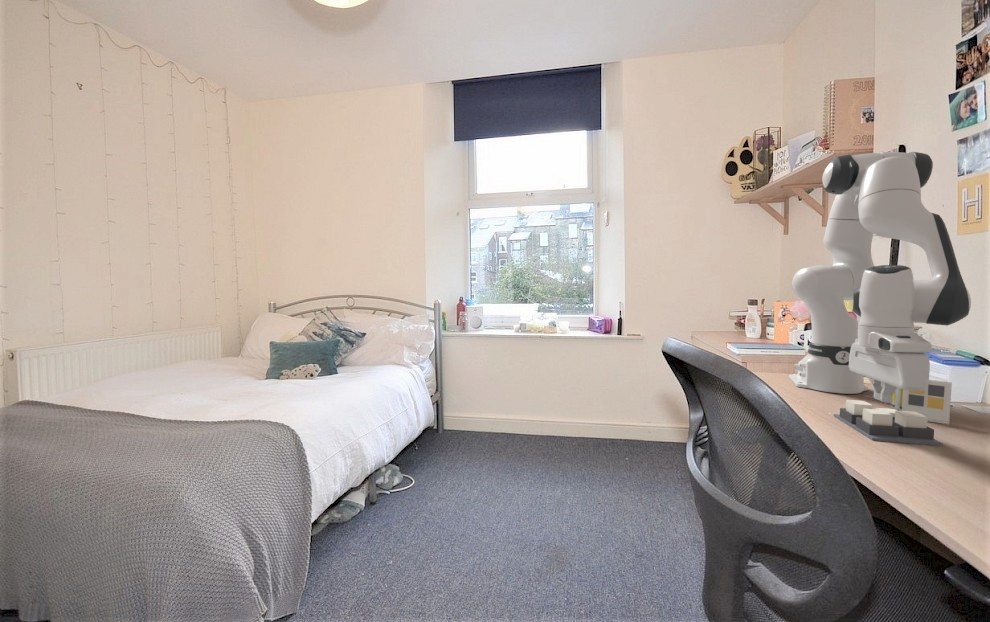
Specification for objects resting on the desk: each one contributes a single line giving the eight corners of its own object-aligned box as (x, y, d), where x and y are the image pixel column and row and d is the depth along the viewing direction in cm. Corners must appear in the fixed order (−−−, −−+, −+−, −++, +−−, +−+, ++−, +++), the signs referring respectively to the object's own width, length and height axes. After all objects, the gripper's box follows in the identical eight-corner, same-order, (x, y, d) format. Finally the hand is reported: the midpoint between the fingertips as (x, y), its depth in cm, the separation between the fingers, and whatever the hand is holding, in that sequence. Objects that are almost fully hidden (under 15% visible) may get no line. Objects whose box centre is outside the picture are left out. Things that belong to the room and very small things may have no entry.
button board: (833, 416, 102) (834, 405, 102) (891, 419, 99) (892, 409, 99) (872, 440, 87) (872, 427, 87) (942, 445, 84) (943, 433, 83)
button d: (862, 421, 92) (862, 408, 92) (881, 422, 91) (882, 409, 91) (871, 426, 89) (872, 413, 89) (891, 428, 88) (892, 414, 88)
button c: (845, 411, 99) (846, 399, 99) (863, 412, 98) (863, 400, 98) (853, 416, 96) (854, 404, 95) (872, 417, 95) (873, 405, 94)
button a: (874, 419, 98) (875, 407, 97) (893, 421, 97) (894, 408, 96) (884, 424, 94) (885, 412, 94) (903, 426, 93) (904, 413, 93)
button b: (894, 423, 91) (895, 410, 91) (914, 424, 90) (915, 411, 90) (905, 429, 87) (906, 415, 87) (926, 430, 86) (927, 417, 86)
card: (901, 415, 102) (903, 376, 101) (948, 422, 96) (951, 381, 95) (901, 416, 101) (903, 377, 100) (949, 424, 95) (951, 383, 94)
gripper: (841, 333, 99) (839, 388, 100) (898, 345, 80) (896, 413, 80) (872, 333, 97) (870, 390, 98) (939, 345, 78) (936, 415, 79)
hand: (882, 400), depth 89 cm, fingers closed
